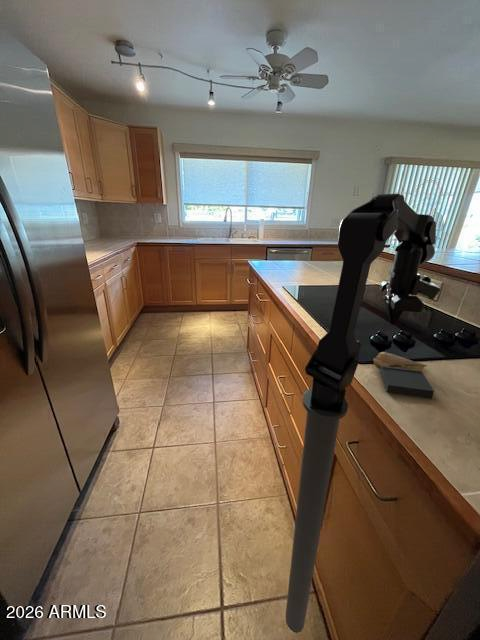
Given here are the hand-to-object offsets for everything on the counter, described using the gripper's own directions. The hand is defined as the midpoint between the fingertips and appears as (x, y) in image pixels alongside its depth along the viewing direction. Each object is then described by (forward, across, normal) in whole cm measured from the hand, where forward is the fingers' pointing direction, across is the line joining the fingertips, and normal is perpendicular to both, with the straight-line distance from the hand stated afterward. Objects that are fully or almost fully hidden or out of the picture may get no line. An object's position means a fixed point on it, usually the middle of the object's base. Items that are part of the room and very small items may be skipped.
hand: (392, 323), depth 73 cm
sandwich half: (+9, -7, -1) cm, 11 cm away
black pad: (+9, -16, 0) cm, 18 cm away
